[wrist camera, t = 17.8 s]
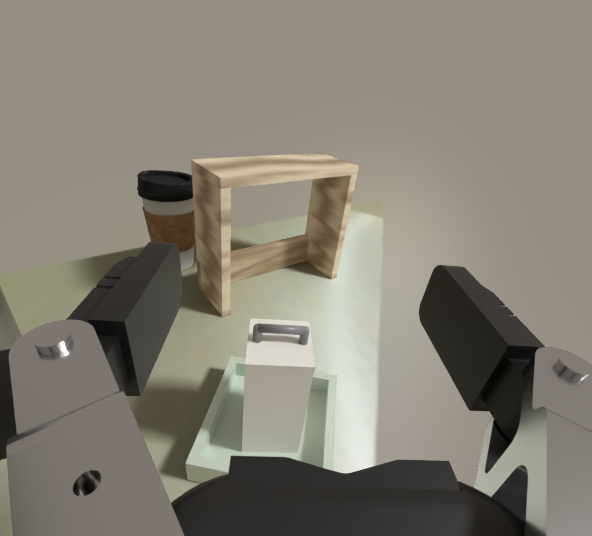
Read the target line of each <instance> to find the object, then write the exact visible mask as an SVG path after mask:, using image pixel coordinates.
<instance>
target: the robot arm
mask: <svg viewBox="0 0 592 536" xmlns="http://www.w3.org/2000/svg"><path fill="white" fill-rule="evenodd" d="M182 292H183V288H182V276H181V264H180V253H179V247H178V245H177V244H174V243H161V242H149V243H148V244H147V245H146V247H145V248H144V249H143V250H142V252H141V253H140V254H139V255H138V257H128V258H126V259H125V260H123V261H121V262H119V263H117V264H116V265H114V266H113V267H112V268H111V269H110V271H109V272H108V273H107V274H106V275H105V278H103V279H102V280H101V281H100V282H99V283H98V284H97V287H96V288H94V289H93V290H92V291H91V292H90V293H89V294H88V296H87V297H86V298H85V299H84V300H83V301H82V302H81V304H80V305H79V306H78V307H77V308H76V309H75V310H74V312H73V313H72V314H71V315H70V316H69V317H68V318H67V319H66V320H60V321H55V322H51V323H47V324H44V325H41V326H39V327H37V328H35V329H33V330H31V331H29V332H27V333H26V334H24V335H23V336H22V335H21V333H20V330H19V328H18V326H17V324H16V321H15V319H14V317H13V314H12V312H11V310H10V307H9V305H8V303H7V301H6V298H5V296H4V294H3V291H2V289H1V287H0V460H1V459H5V458H7V467H8V480H9V492H10V505H11V518H12V531H13V536H592V365H591V364H590V363H588V362H587V361H585V360H583V359H582V358H580V357H578V356H576V355H574V354H572V353H570V352H567V351H564V350H561V349H557V348H552V347H545V346H544V345H543V344H542V343H541V342H540V341H539V340H538V339H537V338H536V337H535V336H534V335H533V334H532V333H531V332H530V331H529V330H528V328H527V327H526V326H525V325H524V324H523V323H522V322H521V321H520V320H519V319H518V318H517V317H516V316H513V313H512V312H511V311H510V310H509V309H508V308H507V307H505V306H504V304H503V302H502V301H501V300H500V299H499V298H498V297H497V296H496V295H495V294H494V293H493V292H491V291H490V290H488V289H486V288H485V287H483V286H482V285H481V284H480V283H479V282H478V281H477V280H476V279H475V278H474V277H473V276H472V275H471V274H470V273H469V272H468V271H467V270H466V269H465V268H464V267H459V266H446V265H438V266H437V267H435V269H434V270H433V272H432V275H431V277H430V280H429V283H428V285H427V288H426V291H425V293H424V296H423V299H422V301H421V304H420V308H419V317H420V321H421V324H422V326H423V327H424V329H425V331H426V333H427V335H428V336H429V338H430V340H431V342H432V344H433V345H434V347H435V349H436V351H437V353H438V355H439V356H440V358H441V360H442V362H443V364H444V365H445V367H446V369H447V371H448V373H449V374H450V376H451V378H452V380H453V382H454V383H455V385H456V387H457V389H458V390H459V393H460V394H461V396H462V398H463V400H464V402H465V403H466V405H467V407H468V409H469V410H471V411H490V413H491V415H492V418H491V419H490V421H489V422H488V424H487V427H486V432H485V437H484V443H483V447H482V454H481V458H480V463H479V468H478V473H477V478H476V482H475V485H474V487H471V486H469V485H466V484H464V483H462V482H459V481H457V479H456V477H455V475H454V472H453V470H452V467H451V465H450V463H449V461H426V460H396V461H391V462H388V463H384V464H381V465H377V466H374V467H370V468H367V469H363V470H360V471H356V472H353V473H348V474H345V473H339V472H335V471H332V470H329V469H325V468H322V467H319V466H315V465H312V464H309V463H305V462H302V461H298V460H295V459H292V458H288V457H267V456H231V457H230V465H229V472H228V474H226V475H222V476H218V477H215V478H213V479H210V480H208V481H205V482H203V483H201V484H199V485H197V486H196V487H194V488H192V489H190V490H188V491H187V492H185V493H184V494H183V495H181V496H180V497H178V498H177V499H175V500H174V501H173V502H172V503H170V500H169V498H168V495H167V493H166V491H165V488H164V486H163V483H162V481H161V479H160V476H159V474H158V472H157V469H156V467H155V464H154V462H153V460H152V457H151V455H150V453H149V450H148V448H147V445H146V443H145V441H144V438H143V436H142V433H141V431H140V429H139V426H138V424H137V422H136V419H135V417H134V414H133V412H132V410H131V407H130V405H129V403H128V400H127V398H126V396H141V394H142V392H143V389H144V387H145V385H146V383H147V380H148V378H149V376H150V374H151V371H152V369H153V367H154V364H155V362H156V360H157V358H158V355H159V353H160V351H161V349H162V346H163V344H164V342H165V340H166V337H167V335H168V333H169V331H170V328H171V326H172V324H173V321H174V319H175V317H176V315H177V312H178V310H179V308H180V305H181V301H182Z"/></svg>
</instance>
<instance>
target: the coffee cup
mask: <svg viewBox="0 0 592 536" xmlns="http://www.w3.org/2000/svg"><path fill="white" fill-rule="evenodd" d="M137 190H138V194H139V196H140V197H142V200H143V205H144V206H143V211H144V215H145V219H146V223H147V227H148V231H149V235H150V239H151V242H161V243H174V244H177V245H178V247H179V253H180V264H181V271H184V270H186V269H189V268H190V267H191V266H192V265H193V263H194V243H195V219H194V202H193V185H192V175H189V174H186V173H181V172H174V171H158V170H149V171H143V172H140V173H139V174H138V187H137Z"/></svg>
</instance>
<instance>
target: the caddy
mask: <svg viewBox="0 0 592 536" xmlns="http://www.w3.org/2000/svg"><path fill="white" fill-rule="evenodd" d="M314 369H315V365H314V356H313V347H312V339H311V330H310V322H305V321H288V320H270V319H252V318H251V320H250V328H249V336H248V344H247V352H246V360H245V378H244V405H243V432H242V452H270V453H298V451H299V446H300V441H301V436H302V430H303V425H304V420H305V415H306V410H307V405H308V400H309V394H310V389H311V384H312V379H313V374H314Z"/></svg>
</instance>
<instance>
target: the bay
mask: <svg viewBox="0 0 592 536" xmlns="http://www.w3.org/2000/svg"><path fill="white" fill-rule="evenodd" d="M191 165H192V166H191V167H192V185H193V202H194V219H195V237H196V254H197V271H198V287H199V288H200V290H201V291H202V292H203V294H204V295H205V296H206V297H207V299H208V300H209V301H210V302H211V304H212V305H213V306H214V307H215V309H216V310H217V311H218V312H219V314H220V315H221V316H222V317H224V316H227V315H230V283H232V282H235V281H239V280H242V279H245V278H249V277H252V276H256V275H259V274H263V273H266V272H270V271H273V270H277V269H280V268H284V267H287V266H291V265H294V264H298V263H301V262H305V261H307V262H308V263H309V264H311V265H312V266H314V267H315V268H316V269H318V270H319V271H320V272H322V273H323V274H325V275H326V276H327V277H329V278H330V279H333V278H336V276H337V271H338V266H339V261H340V256H341V251H342V246H343V241H344V236H345V231H346V226H347V222H348V217H349V212H350V207H351V202H352V197H353V192H354V187H355V182H356V177H357V172H358V167H359V166H357V165H354V164H351V163H348V162H345V161H343V160H340V159H337V158H334V157H331V156H329V155H326V154H323V153H314V154H292V155H271V156H250V157H230V158H209V159H191ZM309 179H313V181H312V189H311V196H310V203H309V211H308V218H307V226H306V233H305V234H304V235H300V236H296V237H291V238H287V239H282V240H278V241H274V242H269V243H265V244H260V245H256V246H252V247H247V248H243V249H238V250H234V251H230V239H231V228H230V227H231V226H230V225H231V224H230V223H231V217H230V216H231V213H230V212H231V208H230V207H231V188H234V187H243V186H253V185H262V184H272V183H281V182H291V181H300V180H309Z"/></svg>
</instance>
